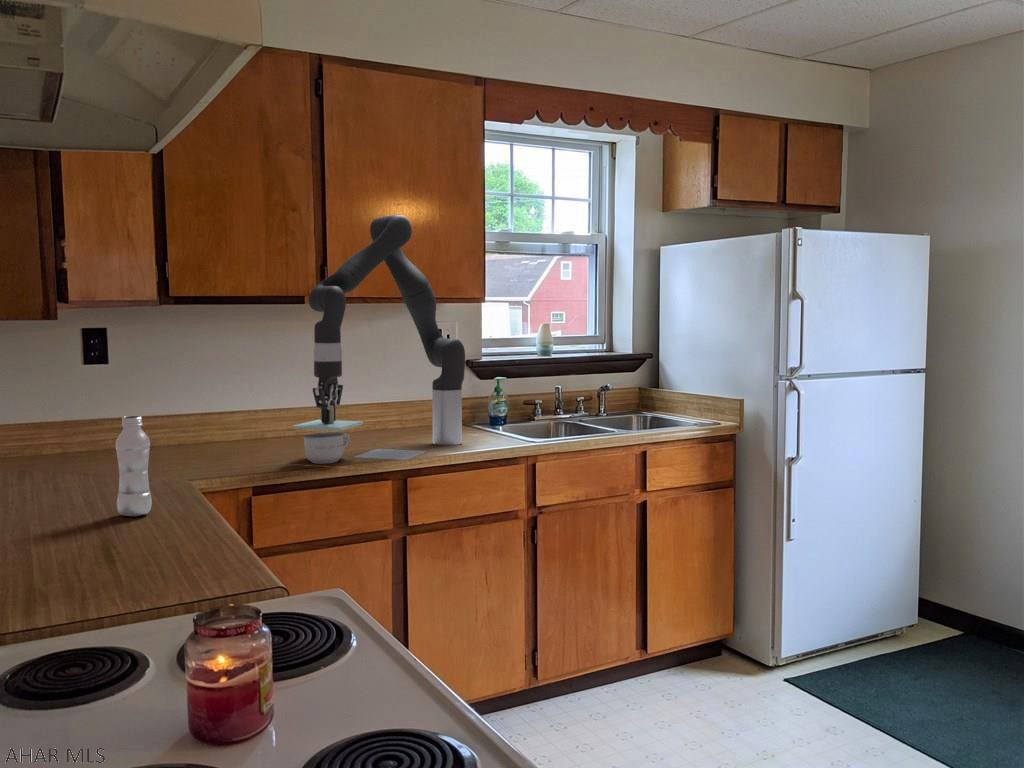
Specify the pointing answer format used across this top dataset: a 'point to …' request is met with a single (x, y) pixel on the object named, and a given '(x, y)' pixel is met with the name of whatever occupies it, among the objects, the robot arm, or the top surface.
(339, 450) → the teacup
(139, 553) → the top surface
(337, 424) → the lid
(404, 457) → the mat
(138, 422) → the plastic bottle
